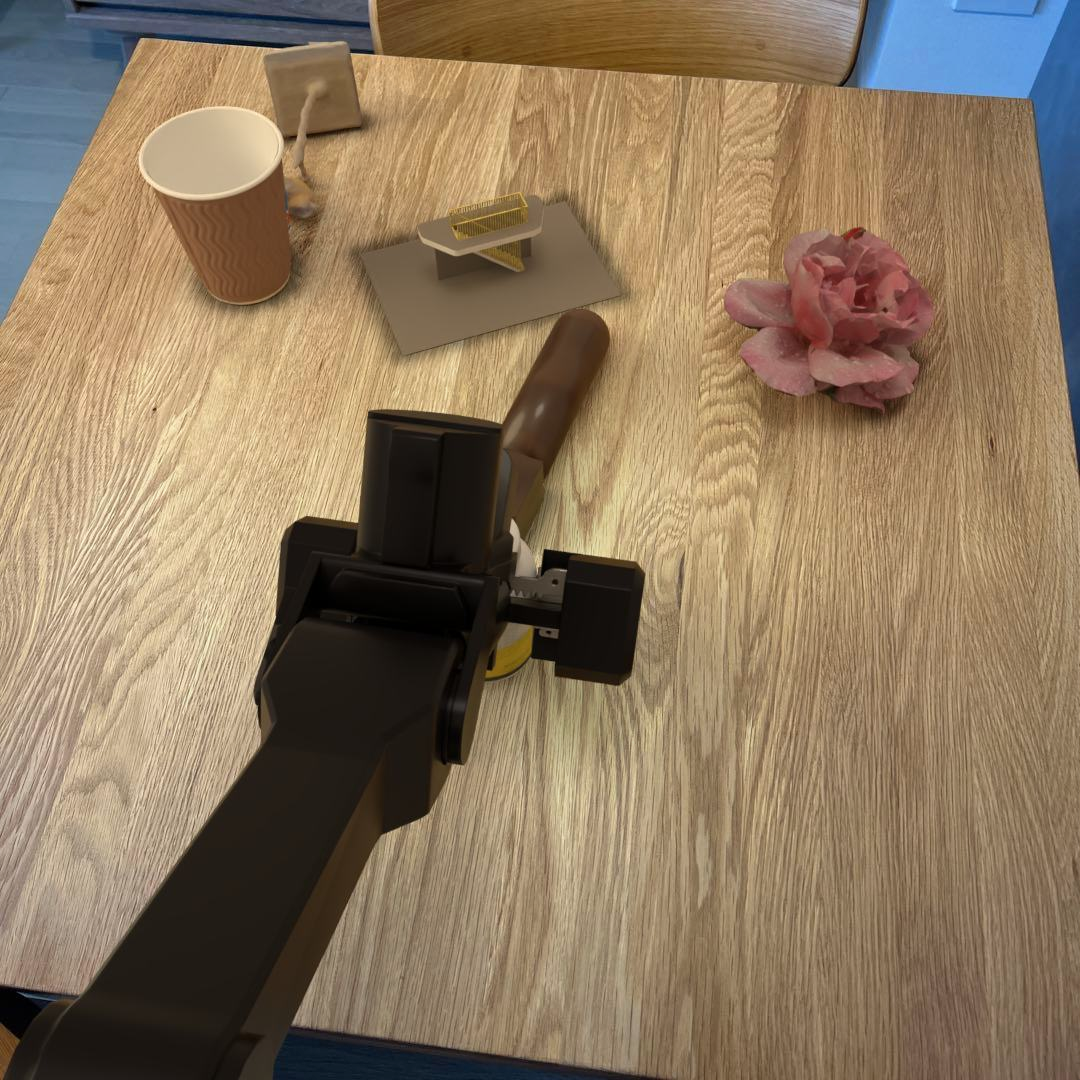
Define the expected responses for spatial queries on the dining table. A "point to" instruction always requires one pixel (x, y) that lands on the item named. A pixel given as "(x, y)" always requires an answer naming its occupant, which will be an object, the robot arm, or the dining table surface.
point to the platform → (486, 272)
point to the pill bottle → (516, 636)
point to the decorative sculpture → (311, 104)
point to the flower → (835, 320)
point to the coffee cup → (224, 198)
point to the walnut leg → (551, 404)
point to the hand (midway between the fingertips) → (486, 567)
